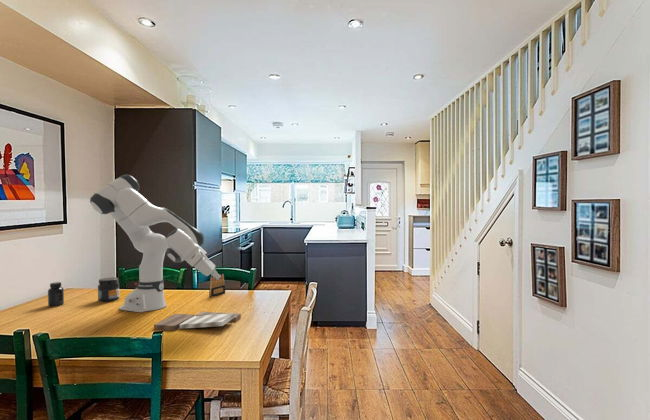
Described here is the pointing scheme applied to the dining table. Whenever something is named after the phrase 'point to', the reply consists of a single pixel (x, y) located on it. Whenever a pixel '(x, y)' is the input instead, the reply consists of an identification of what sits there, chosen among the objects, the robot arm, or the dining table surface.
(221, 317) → the ash plank
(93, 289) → the dining table surface
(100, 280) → the supplement container
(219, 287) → the ammunition clip
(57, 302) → the supplement bottle
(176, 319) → the walnut boards
